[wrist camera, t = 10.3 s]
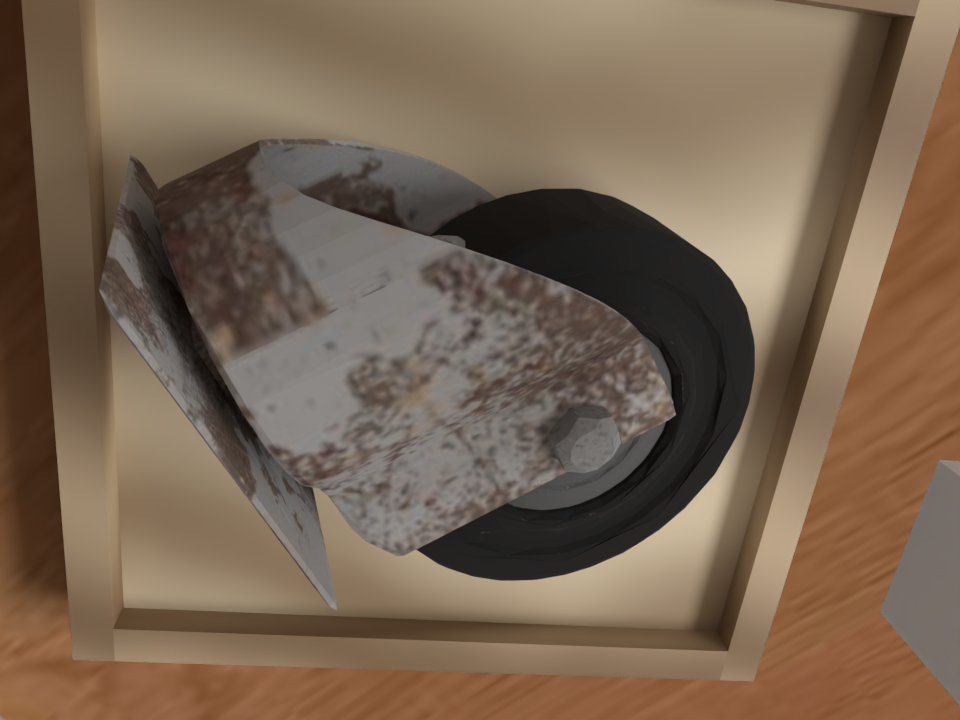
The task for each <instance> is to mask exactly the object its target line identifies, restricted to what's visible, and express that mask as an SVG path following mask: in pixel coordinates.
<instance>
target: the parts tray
mask: <svg viewBox="0 0 960 720" xmlns="http://www.w3.org/2000/svg"><path fill="white" fill-rule="evenodd" d="M21 3H22V15H23V28H24V41H25V54H26V67H27V79H28V92H29V105H30V118H31V131H32V143H33V156H34V169H35V182H36V195H37V207H38V220H39V233H40V246H41V259H42V271H43V284H44V297H45V310H46V323H47V335H48V348H49V361H50V374H51V387H52V399H53V412H54V425H55V438H56V451H57V463H58V476H59V489H60V502H61V515H62V527H63V540H64V553H65V566H66V579H67V591H68V604H69V617H70V630H71V643H72V655H73V660H94V661H126V662H158V663H190V664H221V665H253V666H285V667H317V668H348V669H380V670H412V671H444V672H476V673H507V674H539V675H571V676H603V677H635V678H666V679H698V680H730V681H754V679H755V676H756V672H757V669H758V666H759V663H760V660H761V656H762V653H763V650H764V647H765V644H766V641H767V637H768V634H769V631H770V628H771V625H772V621H773V618H774V615H775V612H776V609H777V606H778V602H779V599H780V596H781V593H782V590H783V586H784V583H785V580H786V577H787V574H788V571H789V567H790V564H791V561H792V558H793V555H794V552H795V548H796V545H797V542H798V539H799V536H800V532H801V529H802V526H803V523H804V520H805V517H806V513H807V510H808V507H809V504H810V501H811V497H812V494H813V491H814V488H815V485H816V482H817V478H818V475H819V472H820V469H821V466H822V462H823V459H824V456H825V453H826V450H827V447H828V443H829V440H830V437H831V434H832V431H833V427H834V424H835V421H836V418H837V415H838V412H839V408H840V405H841V402H842V399H843V396H844V393H845V389H846V386H847V383H848V380H849V377H850V373H851V370H852V367H853V364H854V361H855V358H856V354H857V351H858V348H859V345H860V342H861V338H862V335H863V332H864V329H865V326H866V323H867V319H868V316H869V313H870V310H871V307H872V303H873V300H874V297H875V294H876V291H877V288H878V284H879V281H880V278H881V275H882V272H883V269H884V265H885V262H886V259H887V256H888V253H889V249H890V246H891V243H892V240H893V237H894V234H895V230H896V227H897V224H898V221H899V218H900V214H901V211H902V208H903V205H904V202H905V199H906V195H907V192H908V189H909V186H910V183H911V179H912V176H913V173H914V170H915V167H916V164H917V160H918V157H919V154H920V151H921V148H922V144H923V141H924V138H925V135H926V132H927V129H928V125H929V122H930V119H931V116H932V113H933V110H934V106H935V103H936V100H937V97H938V94H939V90H940V87H941V84H942V81H943V78H944V75H945V71H946V68H947V65H948V62H949V59H950V55H951V52H952V49H953V46H954V43H955V40H956V36H957V33H958V30H959V27H960V0H21ZM293 138H304V139H331V140H342V141H354V142H360V143H366V144H372V145H378V146H384V147H388V148H392V149H396V150H400V151H404V152H408V153H411V154H414V155H417V156H419V157H422V158H425V159H428V160H431V161H433V162H436V163H438V164H440V165H442V166H444V167H446V168H448V169H450V170H453V171H455V172H457V173H459V174H460V175H462V176H464V177H466V178H467V179H469V180H471V181H472V182H474V183H476V184H477V185H479V186H481V187H482V188H484V189H485V190H486V191H488V192H489V193H490V194H492V195H493V196H494V197H496V198H497V199H498V198H501V197H503V196H506V195H511V194H516V193H522V192H527V191H532V190H537V189H583V190H587V191H591V192H596V193H600V194H604V195H608V196H613V197H615V198H617V199H619V200H621V201H624V202H626V203H628V204H630V205H632V206H634V207H636V208H637V209H639V210H641V211H643V212H644V213H646V214H648V215H650V216H651V217H653V218H655V219H656V220H658V221H659V222H661V223H662V224H663V225H665V226H666V227H668V228H669V229H670V230H672V231H673V232H675V233H676V234H678V235H679V236H680V237H682V238H683V239H685V240H686V241H688V242H689V243H690V244H692V245H693V246H695V247H696V248H697V249H699V250H700V251H702V252H703V253H705V254H706V255H707V256H709V257H710V258H712V259H713V260H714V261H715V262H716V263H717V264H718V265H719V266H720V267H721V269H722V270H723V271H724V272H725V273H726V274H727V276H728V277H729V278H730V279H731V280H732V282H733V284H734V285H735V287H736V289H737V291H738V293H739V295H740V296H741V298H742V300H743V302H744V304H745V305H746V307H747V311H748V316H749V320H750V324H751V328H752V333H753V337H754V344H755V372H754V380H753V385H752V391H751V396H750V401H749V405H748V408H747V411H746V414H745V417H744V420H743V423H742V426H741V428H740V431H739V433H738V435H737V436H736V438H735V440H734V442H733V444H732V446H731V448H730V449H729V451H728V453H727V454H726V456H725V458H724V459H723V461H722V463H721V465H720V466H719V468H718V470H717V471H716V473H715V475H714V476H713V477H712V478H711V479H710V480H709V482H708V483H707V484H706V485H705V486H704V487H703V488H702V489H701V491H700V492H699V493H698V494H697V495H696V496H695V497H694V499H693V500H692V501H691V502H690V503H689V504H688V505H687V506H686V508H685V509H683V510H682V511H681V512H680V513H679V514H677V515H676V516H675V517H674V518H673V519H672V520H670V521H669V522H668V523H667V524H666V525H665V526H663V527H662V528H661V529H660V530H658V531H657V532H655V533H654V534H652V535H651V536H649V537H648V538H646V539H645V540H643V541H642V542H640V543H639V544H637V545H635V546H634V547H632V548H630V549H629V550H627V551H625V552H624V553H622V554H619V555H617V556H615V557H613V558H610V559H608V560H606V561H604V562H601V563H599V564H597V565H594V566H592V567H589V568H586V569H583V570H579V571H576V572H573V573H570V574H566V575H561V576H556V577H550V578H544V579H538V580H521V581H499V580H492V579H486V578H479V577H473V576H470V575H467V574H464V573H461V572H458V571H455V570H451V569H448V568H446V567H444V566H442V565H439V564H437V563H436V562H434V561H433V560H431V559H430V558H428V557H427V556H425V555H424V554H422V553H420V552H419V551H417V550H414V551H412V552H410V553H408V554H406V555H405V556H395V555H393V554H391V553H389V552H387V551H385V550H383V549H381V548H378V547H376V546H374V545H372V544H370V543H368V542H366V541H365V540H363V539H362V538H361V537H360V536H359V535H358V534H357V533H356V532H355V531H354V530H353V529H351V527H350V526H349V525H348V523H347V522H346V520H345V519H344V518H343V516H342V515H341V513H340V512H339V510H338V509H337V508H336V506H335V505H334V503H333V502H332V500H331V499H330V498H329V497H328V496H327V495H326V494H325V493H324V492H322V491H321V490H320V489H318V488H313V491H314V496H315V501H316V506H317V510H318V515H319V520H320V525H321V529H322V534H323V539H324V544H325V548H326V553H327V558H328V563H329V567H330V572H331V577H332V582H333V586H334V591H335V596H336V602H337V610H335V609H333V608H332V607H330V606H329V605H327V604H326V603H325V601H324V600H323V599H322V597H321V596H320V595H319V593H318V592H317V591H316V589H315V588H314V587H313V585H312V584H311V583H310V581H309V580H308V579H307V577H306V576H305V575H304V573H303V572H302V571H301V569H300V568H299V566H298V565H297V564H296V562H295V561H294V560H293V558H292V557H291V556H290V554H289V553H288V552H287V550H286V549H285V548H284V546H283V545H282V544H281V542H280V541H279V540H278V538H277V537H276V536H275V534H274V533H273V532H272V530H271V529H270V528H269V526H268V525H267V524H266V522H265V521H264V520H263V518H262V517H261V516H260V514H259V513H258V512H257V510H256V509H255V508H254V506H253V505H252V504H251V502H250V501H249V500H248V498H247V497H246V496H245V494H244V493H243V492H242V490H241V489H240V488H239V486H238V485H237V484H236V482H235V481H234V480H233V478H232V477H231V476H230V474H229V473H228V472H227V470H226V469H225V468H224V466H223V465H222V464H221V462H220V461H219V460H218V458H217V457H216V456H215V454H214V453H213V452H212V450H211V449H210V448H209V446H208V445H207V444H206V442H205V441H204V440H203V438H202V437H201V436H200V434H199V433H198V432H197V430H196V429H195V428H194V426H193V425H192V424H191V422H190V421H189V420H188V418H187V417H186V416H185V414H184V413H183V412H182V410H181V409H180V408H179V406H178V405H177V404H176V402H175V401H174V400H173V398H172V397H171V396H170V394H169V393H168V392H167V390H166V389H165V388H164V386H163V385H162V384H161V382H160V381H159V380H158V378H157V377H156V376H155V374H154V373H153V372H152V370H151V369H150V368H149V366H148V365H147V364H146V362H145V361H144V360H143V358H142V357H141V356H140V354H139V353H138V352H137V350H136V349H135V348H134V346H133V345H132V344H131V342H130V341H129V340H128V338H127V337H126V336H125V334H124V333H123V332H122V330H121V329H120V328H119V326H118V325H117V324H116V322H115V321H114V320H113V318H112V317H111V316H110V314H109V313H108V310H107V308H106V306H105V303H104V301H103V299H102V296H101V294H100V292H99V288H100V283H101V279H102V275H103V271H104V266H105V262H106V258H107V253H108V249H109V245H110V240H111V236H112V232H113V227H114V223H115V219H116V215H117V210H118V206H119V202H120V197H121V193H122V189H123V184H124V180H125V176H126V171H127V167H128V163H129V159H130V155H132V156H134V157H136V158H137V159H138V160H139V161H140V162H141V163H142V164H143V165H144V167H145V168H146V170H147V172H148V173H149V175H150V176H151V178H152V180H153V181H154V183H155V184H156V186H157V187H158V189H160V188H161V187H162V186H163V185H165V184H167V183H169V182H171V181H173V180H175V179H177V178H179V177H182V176H184V175H186V174H188V173H190V172H192V171H195V170H197V169H199V168H201V167H203V166H205V165H207V164H210V163H212V162H214V161H216V160H218V159H220V158H222V157H225V156H227V155H229V154H231V153H233V152H235V151H237V150H240V149H242V148H244V147H246V146H248V145H250V144H252V143H255V142H257V141H259V140H261V139H293Z"/></svg>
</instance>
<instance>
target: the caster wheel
mask: <svg viewBox="0 0 960 720" xmlns="http://www.w3.org/2000/svg"><path fill="white" fill-rule="evenodd" d="M99 292H100V294H101V296H102V299H103V301H104V303H105V306H106V308H107V310H108V313H109V314H110V316H111V317H112V318H113V320H114V321H115V322H116V324H117V325H118V326H119V328H120V329H121V330H122V332H123V333H124V334H125V336H126V337H127V338H128V340H129V341H130V342H131V344H132V345H133V346H134V348H135V349H136V350H137V352H138V353H139V354H140V356H141V357H142V358H143V360H144V361H145V362H146V364H147V365H148V366H149V368H150V369H151V370H152V372H153V373H154V374H155V376H156V377H157V378H158V380H159V381H160V382H161V384H162V385H163V386H164V388H165V389H166V390H167V392H168V393H169V394H170V396H171V397H172V398H173V400H174V401H175V402H176V404H177V405H178V406H179V408H180V409H181V410H182V412H183V413H184V414H185V416H186V417H187V418H188V420H189V421H190V422H191V424H192V425H193V426H194V428H195V429H196V430H197V432H198V433H199V434H200V436H201V437H202V438H203V440H204V441H205V442H206V444H207V445H208V446H209V448H210V449H211V450H212V452H213V453H214V454H215V456H216V457H217V458H218V460H219V461H220V462H221V464H222V465H223V466H224V468H225V469H226V470H227V472H228V473H229V474H230V476H231V477H232V478H233V480H234V481H235V482H236V484H237V485H238V486H239V488H240V489H241V490H242V492H243V493H244V494H245V496H246V497H247V498H248V500H249V501H250V502H251V504H252V505H253V506H254V508H255V509H256V510H257V512H258V513H259V514H260V516H261V517H262V518H263V520H264V521H265V522H266V524H267V525H268V526H269V528H270V529H271V530H272V532H273V533H274V534H275V536H276V537H277V538H278V540H279V541H280V542H281V544H282V545H283V546H284V548H285V549H286V550H287V552H288V553H289V554H290V556H291V557H292V558H293V560H294V561H295V562H296V564H297V565H298V566H299V568H300V569H301V571H302V572H303V573H304V575H305V576H306V577H307V579H308V580H309V581H310V583H311V584H312V585H313V587H314V588H315V589H316V591H317V592H318V593H319V595H320V596H321V597H322V599H323V600H324V601H325V603H326V604H327V605H329V606H330V607H332V608H333V609H335V610H337V602H336V596H335V591H334V586H333V582H332V577H331V572H330V567H329V563H328V558H327V553H326V548H325V544H324V539H323V534H322V529H321V525H320V520H319V515H318V510H317V506H316V501H315V496H314V491H313V488H318V489H320V490H321V491H322V492H324V493H325V494H326V495H327V496H328V497H329V498H330V499H331V500H332V502H333V503H334V505H335V506H336V508H337V509H338V510H339V512H340V513H341V515H342V516H343V518H344V519H345V520H346V522H347V523H348V525H349V526H350V527H351V529H353V530H354V531H355V532H356V533H357V534H358V535H359V536H360V537H361V538H362V539H363V540H365V541H366V542H368V543H370V544H372V545H374V546H376V547H378V548H381V549H383V550H385V551H387V552H389V553H391V554H393V555H395V556H405V555H406V554H408V553H410V552H412V551H414V550H417V551H419V552H420V553H422V554H424V555H425V556H427V557H428V558H430V559H431V560H433V561H434V562H436V563H437V564H439V565H442V566H444V567H446V568H448V569H451V570H455V571H458V572H461V573H464V574H467V575H470V576H473V577H479V578H486V579H492V580H499V581H521V580H538V579H544V578H550V577H556V576H561V575H566V574H570V573H573V572H576V571H579V570H583V569H586V568H589V567H592V566H594V565H597V564H599V563H601V562H604V561H606V560H608V559H610V558H613V557H615V556H617V555H619V554H622V553H624V552H625V551H627V550H629V549H630V548H632V547H634V546H635V545H637V544H639V543H640V542H642V541H643V540H645V539H646V538H648V537H649V536H651V535H652V534H654V533H655V532H657V531H658V530H660V529H661V528H662V527H663V526H665V525H666V524H667V523H668V522H669V521H670V520H672V519H673V518H674V517H675V516H676V515H677V514H679V513H680V512H681V511H682V510H683V509H685V508H686V506H687V505H688V504H689V503H690V502H691V501H692V500H693V499H694V497H695V496H696V495H697V494H698V493H699V492H700V491H701V489H702V488H703V487H704V486H705V485H706V484H707V483H708V482H709V480H710V479H711V478H712V477H713V476H714V475H715V473H716V471H717V470H718V468H719V466H720V465H721V463H722V461H723V459H724V458H725V456H726V454H727V453H728V451H729V449H730V448H731V446H732V444H733V442H734V440H735V438H736V436H737V435H738V433H739V431H740V428H741V426H742V423H743V420H744V417H745V414H746V411H747V408H748V405H749V401H750V396H751V391H752V385H753V380H754V372H755V344H754V337H753V333H752V328H751V324H750V320H749V316H748V311H747V307H746V305H745V304H744V302H743V300H742V298H741V296H740V295H739V293H738V291H737V289H736V287H735V285H734V284H733V282H732V280H731V279H730V278H729V277H728V276H727V274H726V273H725V272H724V271H723V270H722V269H721V267H720V266H719V265H718V264H717V263H716V262H715V261H714V260H713V259H712V258H710V257H709V256H707V255H706V254H705V253H703V252H702V251H700V250H699V249H697V248H696V247H695V246H693V245H692V244H690V243H689V242H688V241H686V240H685V239H683V238H682V237H680V236H679V235H678V234H676V233H675V232H673V231H672V230H670V229H669V228H668V227H666V226H665V225H663V224H662V223H661V222H659V221H658V220H656V219H655V218H653V217H651V216H650V215H648V214H646V213H644V212H643V211H641V210H639V209H637V208H636V207H634V206H632V205H630V204H628V203H626V202H624V201H621V200H619V199H617V198H615V197H613V196H608V195H604V194H600V193H596V192H591V191H587V190H583V189H537V190H532V191H527V192H522V193H516V194H511V195H506V196H503V197H501V198H498V199H497V198H496V197H494V196H493V195H492V194H490V193H489V192H488V191H486V190H485V189H484V188H482V187H481V186H479V185H477V184H476V183H474V182H472V181H471V180H469V179H467V178H466V177H464V176H462V175H460V174H459V173H457V172H455V171H453V170H450V169H448V168H446V167H444V166H442V165H440V164H438V163H436V162H433V161H431V160H428V159H425V158H422V157H419V156H417V155H414V154H411V153H408V152H404V151H400V150H396V149H392V148H388V147H384V146H378V145H372V144H366V143H360V142H354V141H342V140H331V139H304V138H293V139H261V140H259V141H257V142H255V143H252V144H250V145H248V146H246V147H244V148H242V149H240V150H237V151H235V152H233V153H231V154H229V155H227V156H225V157H222V158H220V159H218V160H216V161H214V162H212V163H210V164H207V165H205V166H203V167H201V168H199V169H197V170H195V171H192V172H190V173H188V174H186V175H184V176H182V177H179V178H177V179H175V180H173V181H171V182H169V183H167V184H165V185H163V186H162V187H161V188H160V189H158V187H157V186H156V184H155V183H154V181H153V180H152V178H151V176H150V175H149V173H148V172H147V170H146V168H145V167H144V165H143V164H142V163H141V162H140V161H139V160H138V159H137V158H136V157H134V156H132V155H130V159H129V163H128V167H127V171H126V176H125V180H124V184H123V189H122V193H121V197H120V202H119V206H118V210H117V215H116V219H115V223H114V227H113V232H112V236H111V240H110V245H109V249H108V253H107V258H106V262H105V266H104V271H103V275H102V279H101V283H100V288H99Z"/></svg>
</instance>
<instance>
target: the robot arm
mask: <svg viewBox="0 0 960 720" xmlns="http://www.w3.org/2000/svg"><path fill="white" fill-rule="evenodd" d="M880 613H881V614H882V615H883V616H884V618H885V619H886V620H887V621H888V622H889V623H890V625H891V626H892V627H893V628H894V629H895V631H896V632H897V633H898V634H899V635H900V636H901V638H902V639H903V640H904V641H905V642H906V643H907V645H908V646H909V647H910V648H911V649H912V651H913V652H914V653H915V654H916V655H917V656H918V658H919V659H920V660H921V661H922V662H923V663H924V665H925V666H926V667H927V668H928V669H929V671H930V672H931V673H932V674H933V675H934V676H935V678H936V679H937V680H938V681H939V682H940V683H941V685H942V686H943V687H944V688H945V689H946V690H947V692H948V693H949V694H950V695H951V696H952V698H953V699H954V700H955V701H956V702H957V703H958V705H959V706H960V461H947V460H938V463H937V465H936V468H935V470H934V473H933V476H932V478H931V481H930V483H929V486H928V489H927V491H926V494H925V496H924V499H923V502H922V504H921V507H920V509H919V512H918V514H917V517H916V520H915V522H914V525H913V527H912V530H911V533H910V535H909V538H908V540H907V543H906V546H905V548H904V551H903V553H902V556H901V559H900V561H899V564H898V566H897V569H896V571H895V574H894V577H893V579H892V582H891V584H890V587H889V590H888V592H887V595H886V597H885V600H884V603H883V605H882V608H881V610H880Z"/></svg>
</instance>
